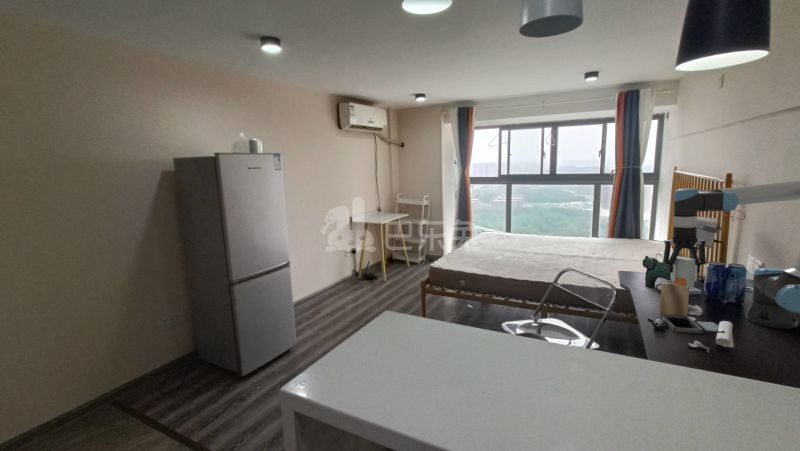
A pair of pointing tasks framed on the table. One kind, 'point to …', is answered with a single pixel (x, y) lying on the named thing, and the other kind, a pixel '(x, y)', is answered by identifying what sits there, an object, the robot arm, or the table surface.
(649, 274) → the ceramic cat
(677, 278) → the skincare box
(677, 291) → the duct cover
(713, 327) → the rubber mat
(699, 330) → the grey picture frame
